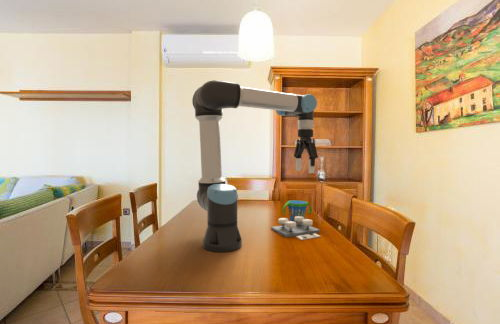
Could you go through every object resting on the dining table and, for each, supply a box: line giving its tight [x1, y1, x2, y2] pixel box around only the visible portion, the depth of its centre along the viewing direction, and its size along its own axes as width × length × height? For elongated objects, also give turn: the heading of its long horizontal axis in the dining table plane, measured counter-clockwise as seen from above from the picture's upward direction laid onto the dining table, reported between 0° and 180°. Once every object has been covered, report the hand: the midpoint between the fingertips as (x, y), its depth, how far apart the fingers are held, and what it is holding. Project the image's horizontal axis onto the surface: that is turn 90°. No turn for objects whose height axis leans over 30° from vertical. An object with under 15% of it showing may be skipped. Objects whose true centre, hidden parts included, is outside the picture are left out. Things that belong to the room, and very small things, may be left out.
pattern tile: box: [295, 233, 322, 241], centre depth 120 cm, size 10×4×1 cm, turn 115°
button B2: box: [295, 216, 304, 225], centre depth 134 cm, size 5×5×3 cm
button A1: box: [285, 220, 297, 230], centre depth 125 cm, size 5×5×3 cm
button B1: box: [301, 218, 314, 228], centre depth 128 cm, size 5×5×3 cm
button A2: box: [277, 217, 289, 227], centre depth 130 cm, size 5×5×3 cm
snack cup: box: [282, 199, 312, 222], centre depth 147 cm, size 16×10×10 cm
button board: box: [271, 222, 321, 238], centre depth 130 cm, size 18×13×1 cm
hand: (304, 171), depth 140 cm, fingers open, 13 cm apart
